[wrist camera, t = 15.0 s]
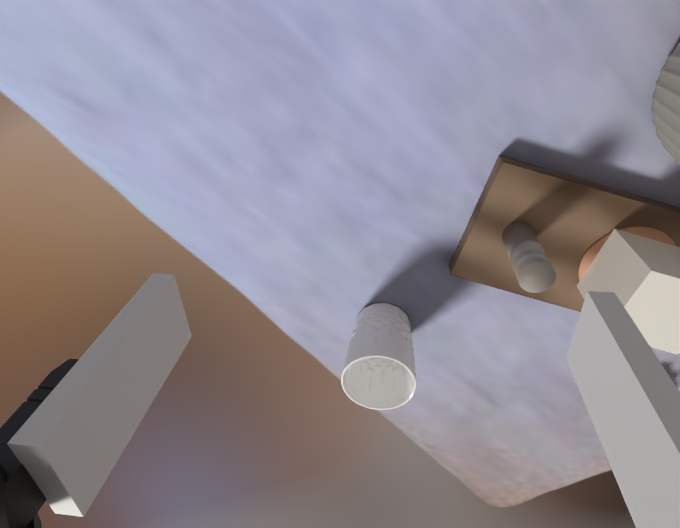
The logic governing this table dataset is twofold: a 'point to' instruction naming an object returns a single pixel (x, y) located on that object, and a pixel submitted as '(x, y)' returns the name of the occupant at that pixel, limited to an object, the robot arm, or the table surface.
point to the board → (550, 231)
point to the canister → (668, 105)
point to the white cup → (380, 359)
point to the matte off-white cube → (641, 284)
